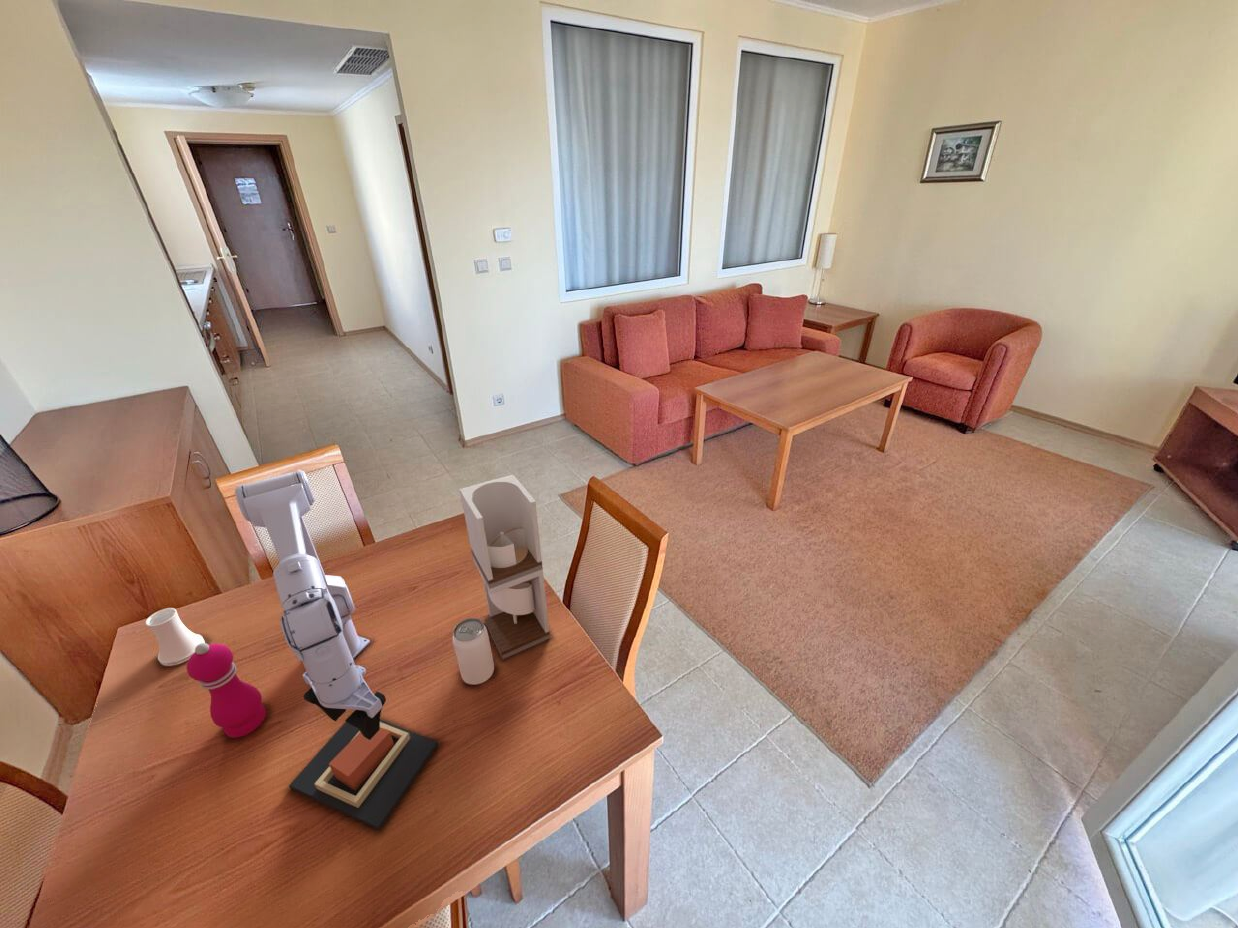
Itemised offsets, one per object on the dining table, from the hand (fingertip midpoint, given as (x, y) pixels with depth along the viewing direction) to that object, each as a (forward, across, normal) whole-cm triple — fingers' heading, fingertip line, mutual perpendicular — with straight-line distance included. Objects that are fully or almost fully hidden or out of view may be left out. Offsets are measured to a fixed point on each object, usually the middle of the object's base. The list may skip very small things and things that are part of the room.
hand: (356, 724), depth 80 cm
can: (+9, -6, -21) cm, 24 cm away
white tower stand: (+9, -7, -33) cm, 35 cm away
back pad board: (+9, -1, +1) cm, 9 cm away
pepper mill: (+9, +26, +5) cm, 28 cm away
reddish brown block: (+8, -1, +1) cm, 8 cm away
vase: (+10, +55, 0) cm, 56 cm away
